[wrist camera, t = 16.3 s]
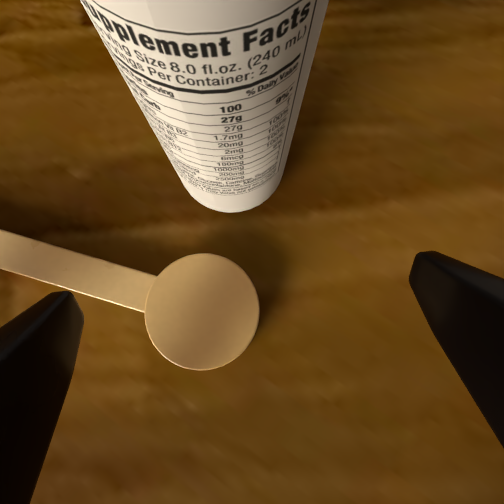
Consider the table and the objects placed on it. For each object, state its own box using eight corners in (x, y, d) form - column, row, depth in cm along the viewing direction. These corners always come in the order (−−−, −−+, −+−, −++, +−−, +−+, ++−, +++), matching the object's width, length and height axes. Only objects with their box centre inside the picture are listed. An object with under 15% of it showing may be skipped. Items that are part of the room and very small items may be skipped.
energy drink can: (291, 135, 19) (459, -517, 4) (269, 227, 18) (378, -160, 3) (197, 113, 19) (2, -589, 4) (170, 204, 18) (-218, -274, 3)
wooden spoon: (-107, 272, 17) (-133, 269, 16) (-59, 175, 18) (-81, 166, 17) (241, 379, 16) (240, 386, 15) (271, 273, 17) (273, 271, 16)
